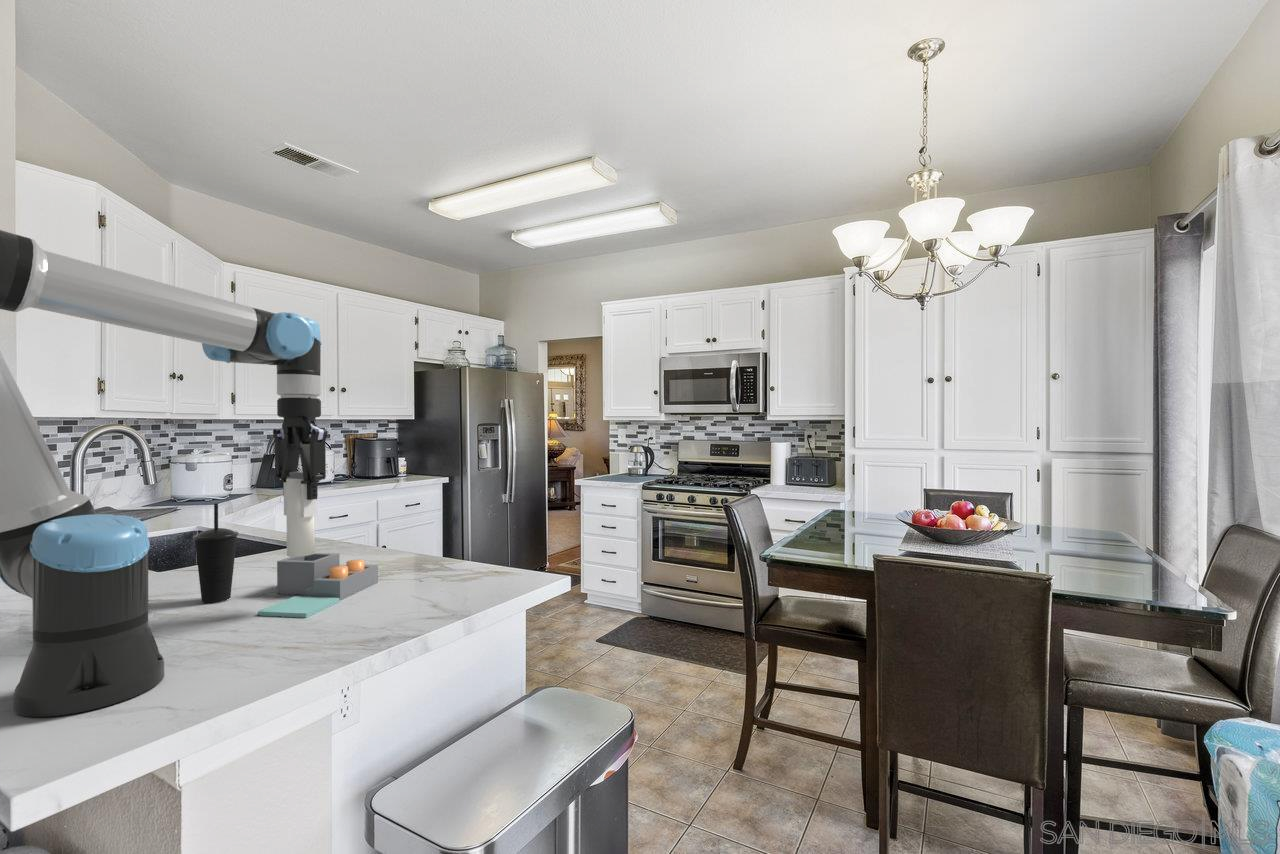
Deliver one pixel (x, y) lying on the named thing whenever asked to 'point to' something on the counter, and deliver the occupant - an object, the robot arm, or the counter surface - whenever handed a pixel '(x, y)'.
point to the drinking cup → (215, 561)
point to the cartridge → (298, 520)
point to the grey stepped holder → (321, 577)
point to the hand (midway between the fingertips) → (300, 515)
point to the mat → (299, 606)
